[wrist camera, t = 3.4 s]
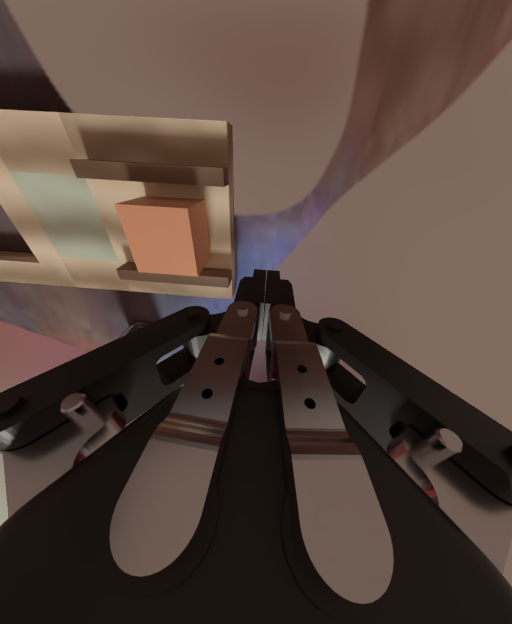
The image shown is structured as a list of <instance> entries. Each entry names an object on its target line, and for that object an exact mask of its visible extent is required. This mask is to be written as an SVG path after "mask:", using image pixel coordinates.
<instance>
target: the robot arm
mask: <svg viewBox="0 0 512 624" xmlns="http://www.w3.org/2000/svg"><path fill="white" fill-rule="evenodd" d="M279 272H280V271H272V270H267V280H266V270H258V269H254V274H253V277H244V278H243V279H241V280H240V283H239V286H238V290H237V293H236V297H235V300H234V303H232V304H230V305H229V306H228V308H227V310H226V312H223V313H219V314H212V315H210V313H209V311H208V310H207V309H206V308H204V307H201V306H191V307H187V308H184V309H182V310H180V311H178V312H176V313H173V314H171V315H169V316H167V317H165V318H162V319H160V320H158V321H156V322H154V323H151V324H149V325H147V326H145V327H143V328H141V329H138V330H136V331H134V332H132V333H130V334H127V335H125V336H123V337H121V338H119V339H116V340H114V341H112V342H110V343H108V344H106V345H103V346H101V347H99V348H97V349H95V350H92V351H90V352H88V353H86V354H84V355H82V356H80V357H77V358H75V359H73V360H71V361H69V362H66V363H64V364H62V365H60V366H57V367H55V368H53V369H51V370H49V371H47V372H44V373H42V374H40V375H38V376H36V377H33V378H31V379H29V380H27V381H25V382H23V383H20V384H18V385H16V386H14V387H12V388H9V389H7V390H5V391H3V392H1V393H0V453H2V454H3V461H4V471H5V483H6V493H7V505H8V516H9V518H8V519H7V520H6V521H5V522H4V523H3V524H2V525H1V526H0V624H512V587H511V585H510V584H509V583H508V581H507V580H506V579H505V578H504V576H503V575H502V574H503V570H504V566H505V562H506V558H507V554H508V550H509V545H510V542H511V538H512V431H510V430H509V429H507V428H505V427H504V426H502V425H501V424H499V423H498V422H496V421H495V420H493V419H492V418H490V417H489V416H487V415H486V414H484V413H483V412H481V411H480V410H478V409H477V408H475V407H474V406H472V405H470V404H469V403H467V402H466V401H464V400H463V399H461V398H460V397H458V396H457V395H455V394H453V393H452V392H450V391H449V390H448V389H446V388H444V387H443V386H441V385H440V384H438V383H437V382H435V381H434V380H432V379H431V378H429V377H428V376H426V375H425V374H423V373H421V372H420V371H419V370H417V369H415V368H414V367H412V366H411V365H409V364H408V363H406V362H405V361H403V360H402V359H400V358H399V357H397V356H396V355H394V354H392V353H391V352H389V351H388V350H386V349H385V348H383V347H382V346H380V345H379V344H377V343H376V342H374V341H373V340H371V339H370V338H368V337H366V336H365V335H363V334H362V333H360V332H359V331H357V330H356V329H354V328H353V327H351V326H350V325H348V324H347V323H345V322H343V321H341V320H339V319H336V318H323V319H321V320H320V321H319V323H318V324H317V323H313V322H310V321H307V320H305V319H303V318H302V317H301V315H300V312H299V311H298V310H297V309H296V308H295V302H294V295H293V289H292V284H291V283H290V282H289V281H288V280H282V279H280V273H279ZM265 283H266V291H265ZM264 297H265V302H264ZM263 309H264V319H263ZM262 321H263V333H262V340H266V349H265V363H266V382H262V383H257V382H254V381H251V380H249V377H250V373H251V368H252V363H253V358H254V353H255V347H256V345H257V340H261V332H262ZM181 345H183V346H184V348H183V349H182V350H180V351H178V352H177V353H175V354H173V355H172V356H170V357H168V358H167V359H165V360H163V361H162V362H160V363H158V364H156V363H157V361H158V360H159V359H160V358H161V357H162V356H164V355H166V354H167V353H169V352H171V351H172V350H174V349H176V348H178V347H179V346H181ZM340 359H342V360H343V361H344V362H345V363H346V364H348V365H349V366H350V367H352V368H353V369H354V370H355V371H356V372H358V373H359V374H360V375H361V376H362V377H363V378H364V380H365V382H366V385H365V384H363V383H362V382H361V381H359V380H358V379H357V378H356V377H355V376H354V375H352V374H351V373H350V372H349V371H348V370H346V369H345V368H344V367H343V366H342V365H340V364H339V361H340ZM182 384H184V385H183V386H182V387H180V385H182ZM178 387H179V388H178ZM177 388H178V389H177ZM175 389H176V390H175ZM157 402H158V403H157ZM156 403H157V404H156ZM153 405H154V406H153ZM152 406H153V407H152ZM150 407H151V408H150ZM149 408H150V409H149ZM148 409H149V410H148ZM146 410H147V411H146ZM145 411H146V412H145ZM143 412H145V413H143ZM142 413H143V414H142ZM141 414H142V415H141ZM139 415H141V416H139ZM138 416H139V417H138ZM137 417H138V418H137ZM135 418H137V419H136V420H134V419H135ZM132 420H134V421H133V422H132V423H130V424H129V425H128V426H126V425H127V424H128V423H129V422H131V421H132ZM125 426H126V427H125Z"/></svg>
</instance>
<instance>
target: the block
mask: <svg viewBox="0 0 512 624" xmlns="http://www.w3.org/2000/svg"><path fill="white" fill-rule="evenodd" d="M114 205H115V208H116V210H117V213H118V216H119V219H120V222H121V225H122V227H123V230H124V233H125V236H126V239H127V241H128V244H129V247H130V250H131V253H132V256H133V258H134V261H135V264H136V267H137V270H138V272H145V273H158V274H171V275H184V276H199V274H200V273H201V271H202V270H203V268H204V267H205V265H206V264H207V262H208V261H209V259H210V258H211V256H210V246H209V236H208V226H207V216H206V206H205V199H189V198H173V197H158V196H143V197H139V198H135V199H131V200H127V201H123V202H120V203H116V204H114Z"/></svg>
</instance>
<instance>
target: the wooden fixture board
mask: <svg viewBox="0 0 512 624" xmlns="http://www.w3.org/2000/svg"><path fill="white" fill-rule="evenodd" d="M232 144H233V142H232V125H231V124H229V123H228V122H227V121H218V120H199V119H179V118H159V117H158V118H157V117H140V116H121V115H102V114H100V115H99V114H81V113H63V112H43V111H23V110H4V109H0V204H1V206H2V207H3V209H4V210H5V212H6V213H7V215H8V216H9V218H10V219H11V221H12V222H13V224H14V225H15V227H16V228H17V230H18V231H19V233H20V234H21V236H22V237H23V239H24V240H25V242H26V243H27V245H28V246H29V248H30V249H31V251H32V252H33V253H22V252H8V251H0V281H8V282H21V283H33V284H46V285H59V286H72V287H84V288H97V289H110V290H122V291H135V292H148V293H161V294H173V295H186V296H199V297H212V298H224V299H233V296H234V293H235V289H236V281H235V235H234V194H233V193H234V191H233V190H234V189H233V147H232V146H233V145H232ZM143 196H158V197H173V198H189V199H205V206H206V216H207V226H208V236H209V246H210V256H211V258H210V259H209V261H208V262H207V264H206V265H205V267H204V268H203V270H202V271H201V273H200V274H199V276H184V275H171V274H158V273H145V272H138V270H137V267H136V264H135V261H134V258H133V256H132V253H131V250H130V247H129V244H128V241H127V239H126V236H125V233H124V230H123V227H122V225H121V222H120V219H119V216H118V213H117V210H116V208H115V205H114V204H116V203H120V202H123V201H127V200H131V199H135V198H139V197H143Z"/></svg>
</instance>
